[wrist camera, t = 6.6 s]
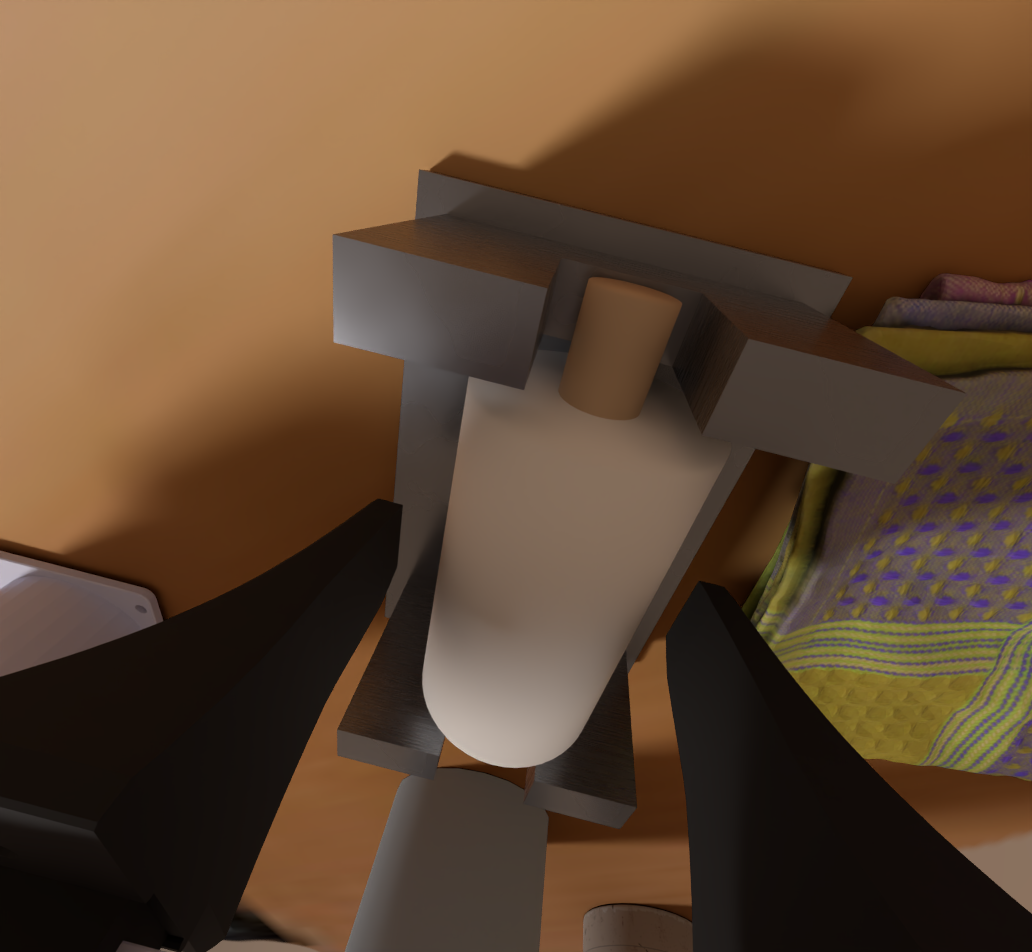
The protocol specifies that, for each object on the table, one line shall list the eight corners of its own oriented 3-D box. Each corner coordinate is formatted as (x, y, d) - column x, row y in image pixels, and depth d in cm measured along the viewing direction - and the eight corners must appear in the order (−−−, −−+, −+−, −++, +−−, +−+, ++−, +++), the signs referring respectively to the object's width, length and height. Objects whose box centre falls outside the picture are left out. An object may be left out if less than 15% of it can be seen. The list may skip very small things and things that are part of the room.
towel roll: (567, 656, 17) (578, 813, 13) (432, 635, 17) (398, 790, 12) (724, 291, 10) (861, 376, 6) (497, 238, 10) (469, 290, 5)
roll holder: (624, 665, 18) (635, 845, 13) (390, 605, 19) (314, 761, 14) (840, 273, 10) (1068, 353, 5) (427, 170, 11) (275, 155, 6)
